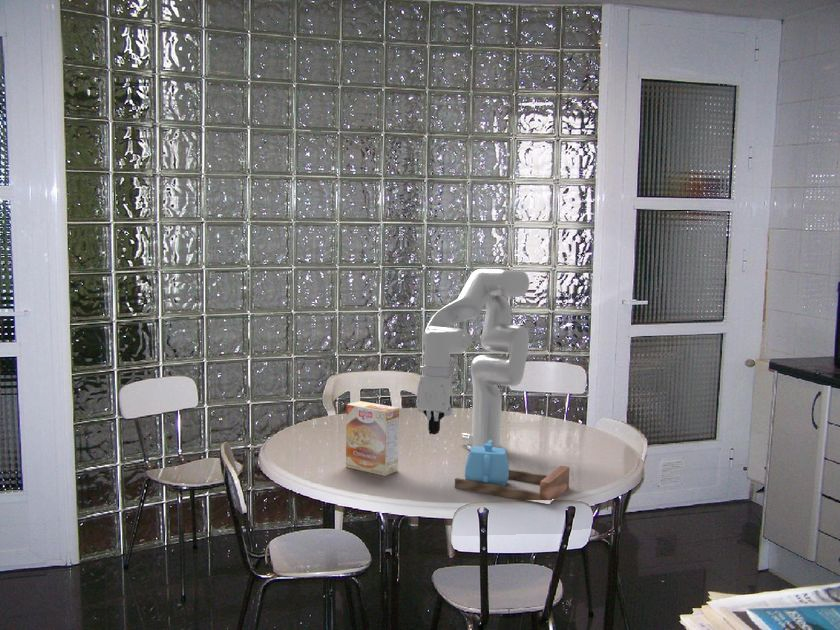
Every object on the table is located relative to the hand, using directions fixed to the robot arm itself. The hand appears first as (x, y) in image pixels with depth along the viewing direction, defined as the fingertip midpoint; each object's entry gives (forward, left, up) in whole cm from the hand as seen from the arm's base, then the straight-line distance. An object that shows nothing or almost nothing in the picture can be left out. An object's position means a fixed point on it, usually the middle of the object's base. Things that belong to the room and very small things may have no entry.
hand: (433, 433), depth 233 cm
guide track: (+25, +1, -12) cm, 28 cm away
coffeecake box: (-18, -5, -13) cm, 23 cm away
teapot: (+17, 0, -12) cm, 21 cm away
